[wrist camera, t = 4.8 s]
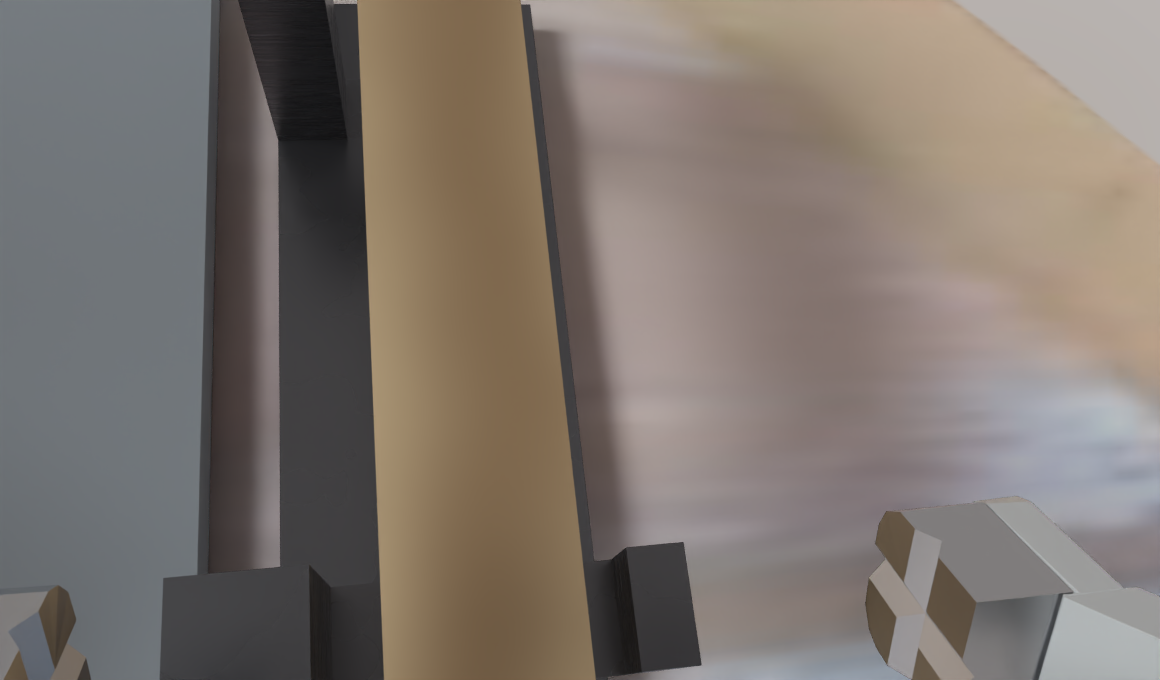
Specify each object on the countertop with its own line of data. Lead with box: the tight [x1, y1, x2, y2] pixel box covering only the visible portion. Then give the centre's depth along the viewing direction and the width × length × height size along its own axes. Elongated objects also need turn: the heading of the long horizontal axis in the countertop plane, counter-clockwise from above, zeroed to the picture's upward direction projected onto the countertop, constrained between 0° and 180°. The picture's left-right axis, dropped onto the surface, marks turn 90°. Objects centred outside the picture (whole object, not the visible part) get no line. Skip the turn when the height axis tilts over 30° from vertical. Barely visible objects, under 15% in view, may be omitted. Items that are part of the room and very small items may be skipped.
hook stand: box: [160, 0, 701, 680], centre depth 22 cm, size 8×24×12 cm, turn 7°
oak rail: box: [357, 0, 596, 680], centre depth 18 cm, size 3×22×3 cm, turn 7°
